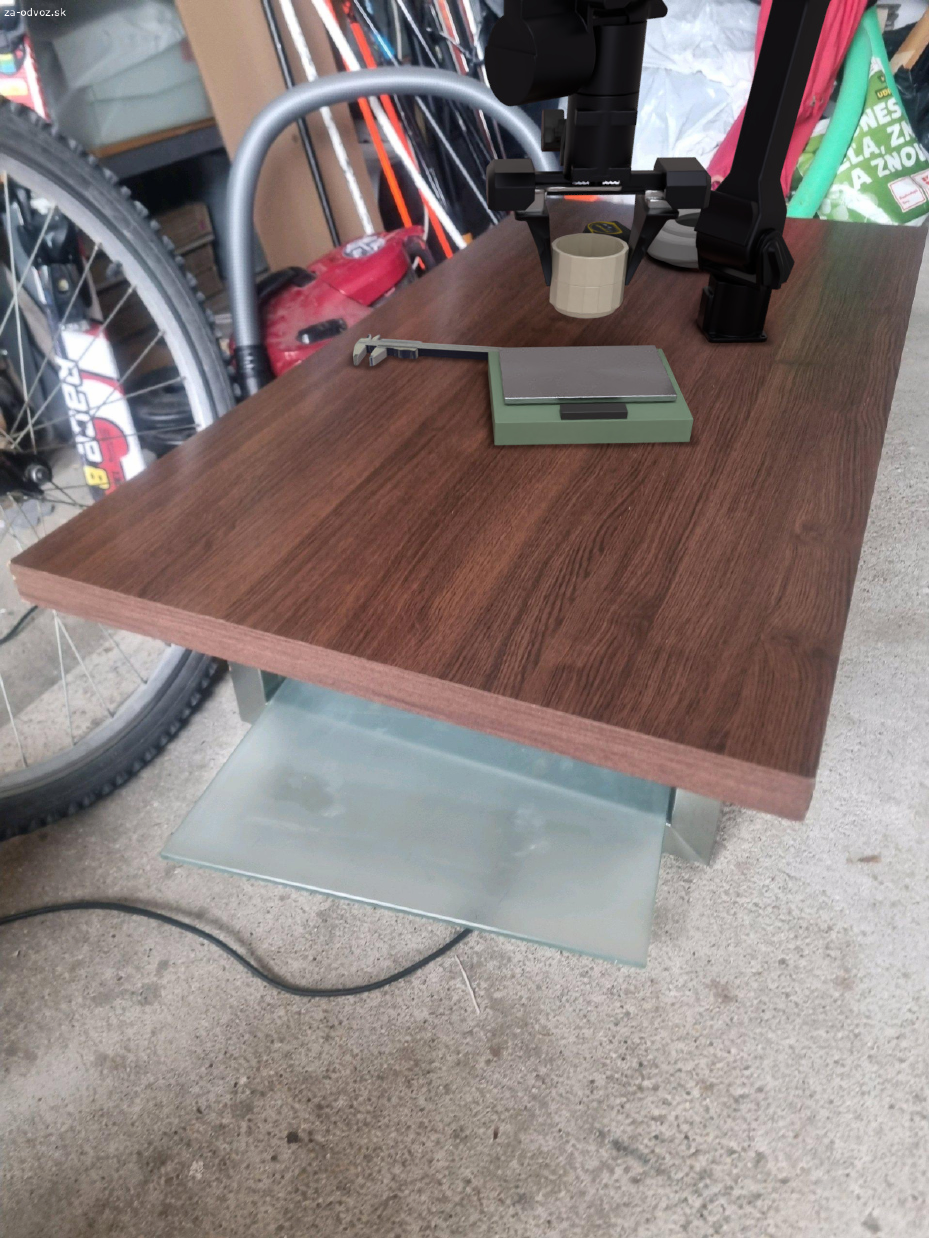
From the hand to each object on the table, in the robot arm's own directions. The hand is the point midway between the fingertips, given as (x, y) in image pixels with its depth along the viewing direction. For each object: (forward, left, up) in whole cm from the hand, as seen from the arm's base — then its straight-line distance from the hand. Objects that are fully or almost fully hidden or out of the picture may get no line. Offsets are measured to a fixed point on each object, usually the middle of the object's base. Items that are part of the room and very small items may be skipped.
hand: (587, 284), depth 80 cm
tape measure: (-9, -41, -11) cm, 43 cm away
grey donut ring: (-22, -39, -11) cm, 46 cm away
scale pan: (0, +2, -8) cm, 8 cm away
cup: (0, 0, -2) cm, 2 cm away
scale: (0, +2, -11) cm, 11 cm away
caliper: (+13, -7, -10) cm, 18 cm away
